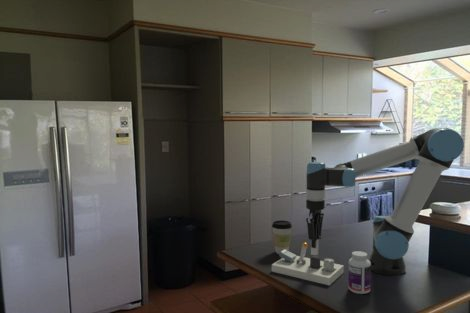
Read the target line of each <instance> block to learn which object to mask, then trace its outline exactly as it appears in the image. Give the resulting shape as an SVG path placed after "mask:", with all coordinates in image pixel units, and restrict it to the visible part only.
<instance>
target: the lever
mask: <svg viewBox="0 0 470 313" xmlns="http://www.w3.org/2000/svg"><path fill="white" fill-rule="evenodd" d="M308 247H309V246H308V243H307V242H303V243H302V244H301V250H300V255H299V256H300V258H299V262H302V261H303V260H304V258H305V256H306V252H307V248H308Z"/></svg>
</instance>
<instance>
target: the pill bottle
mask: <svg viewBox="0 0 470 313" xmlns="http://www.w3.org/2000/svg"><path fill="white" fill-rule="evenodd" d="M347 263H348V272H347V273H348V276H347V278H348V279H347V280H348V282H347V283H348V284H347V285H348V286H347V288H348V290H350V291H351V292H352V293H354V294H356V295H357V294H358V295H363V294H368V293H370V292H371V289H372V287H371V286H372V285H371V283H372V282H371V280H372V278H371V277H372V276H371V275H372V270H371V262H370V261H369V259H368V253H367V252H364V251H360V250H359V251H357V250H356V251H355V250H354V251H352V252H351V258H350V259H348V262H347Z"/></svg>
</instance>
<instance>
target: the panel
mask: <svg viewBox="0 0 470 313" xmlns="http://www.w3.org/2000/svg"><path fill="white" fill-rule="evenodd" d="M299 258H300V255H296V259H295V260H293V261H292V262H289V261H288V260H286V259H284V258H282V257H281V258H280V259H279V260H277V261H275V262H273V263H272V264H271V272H273V273H277V274H279V275H280V274H281V275H285V276H289V277H294V278H298V279H301V280H305V281H309V282H313V283H317V284H322V285H326V286H331V285H332V284H333V283H334V282H335V281H336V280H337V279H338V278H340V276H341V275H343V274H344V271H345V267H344V265H343V264H338V263H334V271H332V272H328V271H324V260H320V268H318V269H314V268H311V267H310V257H305V258H304V260H303V261H302V262H299Z"/></svg>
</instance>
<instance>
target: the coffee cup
mask: <svg viewBox="0 0 470 313" xmlns="http://www.w3.org/2000/svg"><path fill="white" fill-rule="evenodd" d="M292 227H293V225H292V223H291V222H290V221H288V220H284V219H283V220H274V221H273V222H272V225H271V228H272V231H273V232H272V235H273V241H274V250H275V254H277V255H279V254H280V252H281V251H283V250H284V249H285V250H287V251H289V252H290V250H289V248H290V244H291V236H292V235H291V234H292V232H291V230H292Z"/></svg>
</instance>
